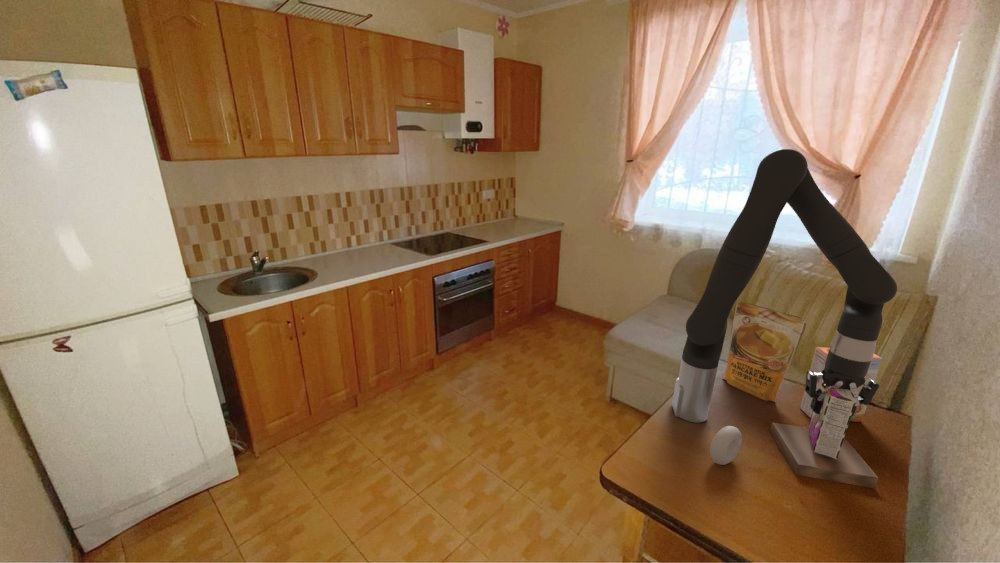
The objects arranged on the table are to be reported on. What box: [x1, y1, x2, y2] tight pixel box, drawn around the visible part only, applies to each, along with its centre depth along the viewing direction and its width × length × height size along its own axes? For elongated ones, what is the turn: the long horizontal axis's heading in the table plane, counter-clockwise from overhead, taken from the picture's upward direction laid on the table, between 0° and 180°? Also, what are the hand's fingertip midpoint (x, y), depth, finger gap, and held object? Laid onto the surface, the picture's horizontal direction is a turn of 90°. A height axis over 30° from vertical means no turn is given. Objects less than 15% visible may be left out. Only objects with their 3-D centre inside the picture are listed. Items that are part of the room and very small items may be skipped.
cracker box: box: [799, 346, 883, 423], centre depth 113 cm, size 14×6×21 cm, turn 84°
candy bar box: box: [808, 379, 856, 459], centre depth 96 cm, size 11×5×16 cm, turn 148°
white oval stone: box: [709, 425, 743, 465], centre depth 97 cm, size 10×4×10 cm, turn 120°
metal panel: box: [769, 421, 880, 489], centre depth 100 cm, size 16×16×3 cm
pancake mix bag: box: [722, 301, 807, 403], centre depth 125 cm, size 7×19×28 cm, turn 34°
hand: (830, 413), depth 96 cm, fingers closed on candy bar box, 5 cm apart
